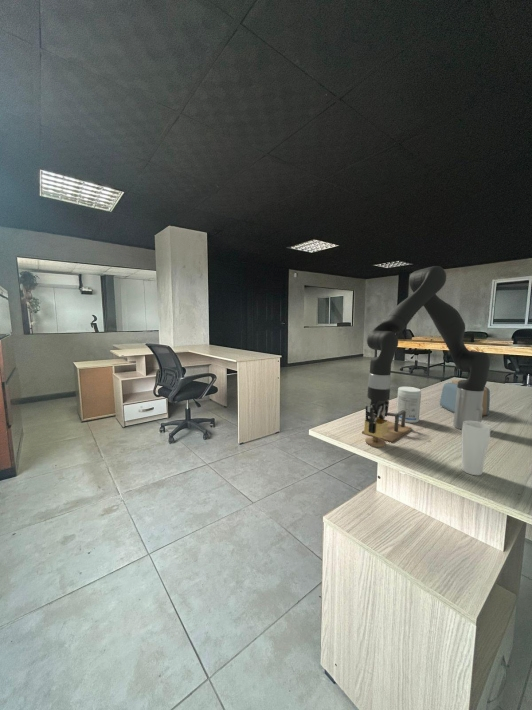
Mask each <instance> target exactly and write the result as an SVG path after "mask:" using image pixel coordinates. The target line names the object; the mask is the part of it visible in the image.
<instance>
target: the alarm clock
mask: <svg viewBox="0 0 532 710" xmlns="http://www.w3.org/2000/svg"><path fill="white" fill-rule="evenodd" d="M460 380H461V379H457V380H456V379H454V380H451V382H447V383H444V385H443V386H442V390H441V395H440V399H439V405H440V406H442V407H441V408H444V409H445V410H448V411H449V412H452V413H453V414H455V404H456V395H457V385H458V381H460ZM490 396H491V395H490V389H489V388H488V387H487V386H485V387H484V394H483V402H482V407H483V412H482V416H488V415H489V413H490V405H491V404H490V401H491V400H490V399H491V398H490Z"/></svg>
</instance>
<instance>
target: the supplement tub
mask: <svg viewBox="0 0 532 710" xmlns="http://www.w3.org/2000/svg"><path fill="white" fill-rule="evenodd" d="M421 397H422V390H421V389H420V388H417V387H412V386H399V387H398V389H397V399H396V413H398V412H400V411H402V410H405V412H406V417H405V423H408V424H409V423H410V424H411V423H413V424H415V423H417V422H420V421H419V420H420V409H421V399H422V398H421ZM401 420H402V415H401V416H399V421H400V422H401Z"/></svg>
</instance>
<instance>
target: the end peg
mask: <svg viewBox="0 0 532 710" xmlns="http://www.w3.org/2000/svg"><path fill="white" fill-rule="evenodd" d="M365 442H366V443H367V444H368V445H367V444H366V443H365V444H366V445H367V446H369V445H370V447H372V446H374V447H373V448H378V447H381V448H384V446H385V447H386V444H387V443H386V441H384V440H382V439H379V438H378V437H375V436H373V437H372V436H369V437H366V438H365Z"/></svg>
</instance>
